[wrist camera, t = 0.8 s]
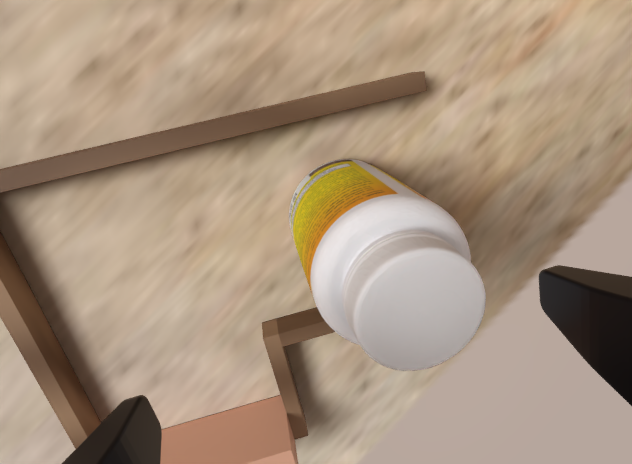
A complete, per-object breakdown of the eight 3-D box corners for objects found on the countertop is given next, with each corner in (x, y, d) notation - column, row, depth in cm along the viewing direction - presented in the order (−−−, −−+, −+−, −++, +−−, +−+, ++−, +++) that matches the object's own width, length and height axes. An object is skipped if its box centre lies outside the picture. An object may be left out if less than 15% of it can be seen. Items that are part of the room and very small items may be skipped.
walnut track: (448, 373, 26) (460, 389, 24) (111, 473, 24) (103, 497, 23) (411, 72, 19) (424, 71, 18) (-49, 180, 18) (-74, 188, 16)
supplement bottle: (274, 248, 21) (298, 380, 12) (306, 142, 20) (363, 195, 10) (373, 271, 23) (467, 406, 13) (410, 173, 21) (546, 246, 12)
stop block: (291, 419, 25) (300, 478, 21) (125, 469, 24) (103, 538, 21) (283, 394, 24) (291, 449, 21) (112, 444, 24) (87, 511, 20)
